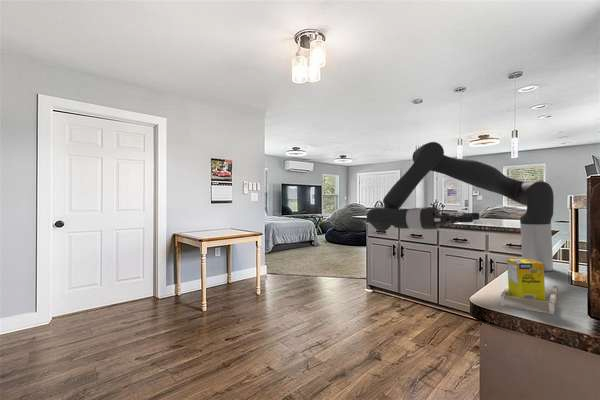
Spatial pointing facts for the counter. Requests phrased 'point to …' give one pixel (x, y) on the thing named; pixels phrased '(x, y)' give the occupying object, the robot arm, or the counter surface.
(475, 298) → the counter surface
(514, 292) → the supplement box
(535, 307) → the track dock
